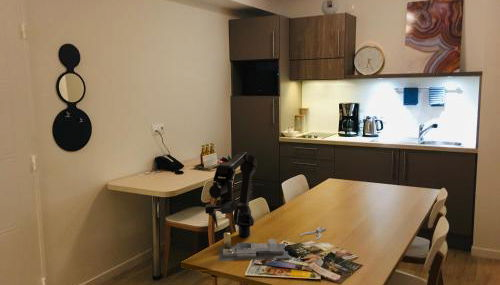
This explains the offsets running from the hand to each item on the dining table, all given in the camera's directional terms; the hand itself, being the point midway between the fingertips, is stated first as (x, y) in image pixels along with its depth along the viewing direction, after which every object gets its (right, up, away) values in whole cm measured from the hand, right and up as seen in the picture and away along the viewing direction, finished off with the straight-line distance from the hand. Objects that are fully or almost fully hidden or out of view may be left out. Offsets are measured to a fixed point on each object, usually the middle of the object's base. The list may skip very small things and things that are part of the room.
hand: (227, 226), depth 183 cm
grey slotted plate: (+12, -11, -5) cm, 17 cm away
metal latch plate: (+13, -9, -5) cm, 17 cm away
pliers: (+43, -8, +20) cm, 48 cm away
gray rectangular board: (+11, -11, -3) cm, 16 cm away
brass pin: (0, -10, +1) cm, 10 cm away
